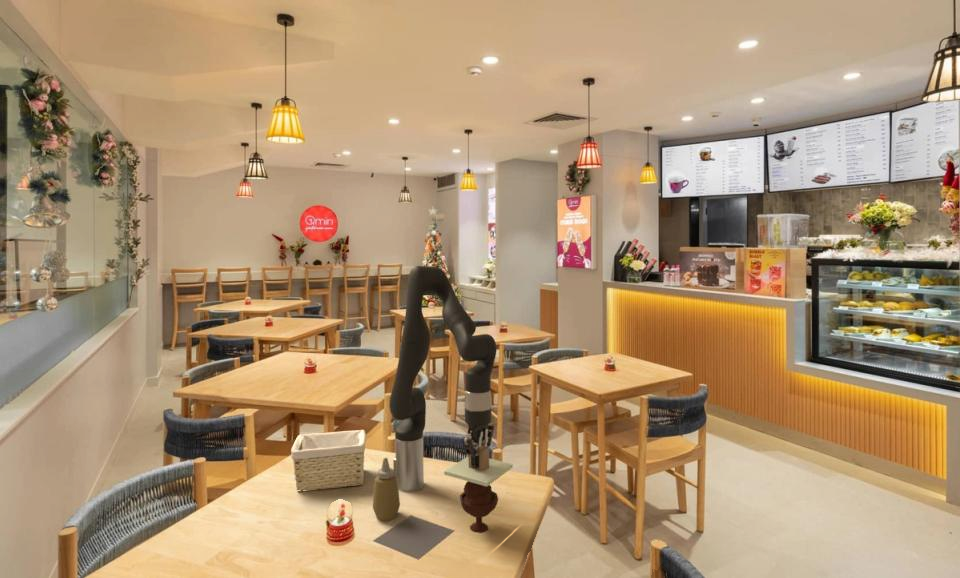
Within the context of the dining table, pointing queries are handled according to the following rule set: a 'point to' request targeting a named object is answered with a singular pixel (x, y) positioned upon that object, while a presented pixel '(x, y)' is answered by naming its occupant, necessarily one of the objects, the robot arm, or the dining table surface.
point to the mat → (414, 536)
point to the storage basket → (329, 459)
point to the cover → (479, 469)
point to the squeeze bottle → (386, 493)
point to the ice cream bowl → (478, 503)
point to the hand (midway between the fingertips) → (478, 465)
